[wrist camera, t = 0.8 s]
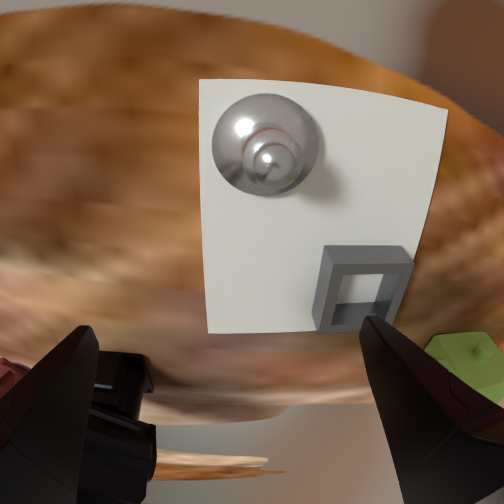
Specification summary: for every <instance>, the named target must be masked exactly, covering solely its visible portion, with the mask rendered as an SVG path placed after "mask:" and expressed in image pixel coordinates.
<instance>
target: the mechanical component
mask: <svg viewBox="0 0 504 504" xmlns="http://www.w3.org/2000/svg"><path fill="white" fill-rule="evenodd" d="M27 372H28V371H25V370H23V369H20V368H18V367H16V366H15V365H13V364H12V363H10V362H9V361H7V360H6V359H4V358H0V398H1V397H2V396H3V395H4V394H5V393H6V392H7V391H9V390H10V389H11V388H12V387H13V386H14V385H15V384H16V383H17V382H18V381H19V380H20V379H21V378H22V377H23V376H24V375H25V374H26V373H27Z"/></svg>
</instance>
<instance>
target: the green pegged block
mask: <svg viewBox="0 0 504 504" xmlns="http://www.w3.org/2000/svg"><path fill="white" fill-rule="evenodd" d="M424 351H425V352H427V353H428V354H429V355H430V356H432V357H433V358H434V359H435V360H437V361H438V362H439V363H440V364H442V365H443V366H444V367H446V368H447V369H448V370H449V372H452V373H453V374H454V375H456V376H457V377H458V378H460V379H461V380H462V381H464V382H465V383H466V384H467V385H469V386H470V387H472V388H473V389H475V390H476V391H478V392H479V393H481V394H482V395H484V396H485V397H487V398H488V399H490V400H491V401H493V402H494V403H496V404H497V403H498V402H499V400H500V399H501V398H502V397H503V396H504V355H503V354H502V352H501V351H500V350H499V349H498V347H497V346H496V345H495V343H494V342H493V341H492V339H491V338H490V337H489V336H488V334H487V333H486V332H484V331H480V332H463V333H452V334H442V335H436V336H434V337H433V338H432V340H431V341H430V343H429V344H428V345H427V347H426V348H425V350H424Z"/></svg>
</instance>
